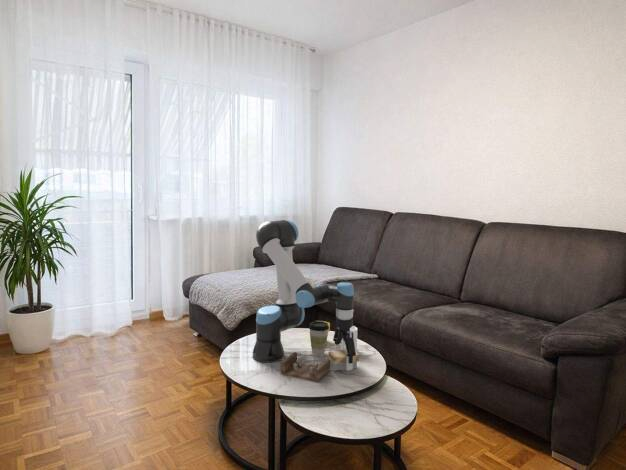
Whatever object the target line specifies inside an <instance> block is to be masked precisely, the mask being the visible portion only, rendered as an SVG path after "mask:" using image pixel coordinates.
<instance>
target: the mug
mask: <svg viewBox="0 0 626 470" xmlns="http://www.w3.org/2000/svg"><path fill="white" fill-rule="evenodd" d="M352 332H353V339H354V346H355V351H356V352H357V353H358V327H356V325H353V326H352V327H351V328H350V333H352ZM341 350H346V345H345V342H344V341H343V339H342V341H341Z"/></svg>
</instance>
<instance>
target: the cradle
mask: <svg viewBox="0 0 626 470" xmlns="http://www.w3.org/2000/svg"><path fill="white" fill-rule="evenodd" d="M280 363H281V365H280V367H281V369H280V371H281V372H280V374H281V375H285V376H289V377H295V378H298V379H302V380H307V381H311V382H315V383H320V382H321V381H322V380H323V379H324V378H325V377H326V376H327V375H328V374H329V373H330V372H331V369H330V359H329V358H326V359H325V360H324V361H323V362H322V363H320V365H319V363H318V362H314V365H311V364H307V363H303V360H302V359H298V352H296V351H295V352H292V353H291V354H290V355H289V356H287V357H285V359H284V358H283V360H282V361H281V362H280Z"/></svg>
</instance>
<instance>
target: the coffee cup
mask: <svg viewBox="0 0 626 470" xmlns="http://www.w3.org/2000/svg"><path fill="white" fill-rule="evenodd" d="M322 321H323V320H314V321H312V322H310V323H309V326H308V330H309V338H310V347H311V354H312V355H313V356H315V357H321V356H324V355H325V353H326V348H327V341H328V336H329V332H328V329H329V326H328V324H327V323H326V322H327V321H325V322H322Z"/></svg>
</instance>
